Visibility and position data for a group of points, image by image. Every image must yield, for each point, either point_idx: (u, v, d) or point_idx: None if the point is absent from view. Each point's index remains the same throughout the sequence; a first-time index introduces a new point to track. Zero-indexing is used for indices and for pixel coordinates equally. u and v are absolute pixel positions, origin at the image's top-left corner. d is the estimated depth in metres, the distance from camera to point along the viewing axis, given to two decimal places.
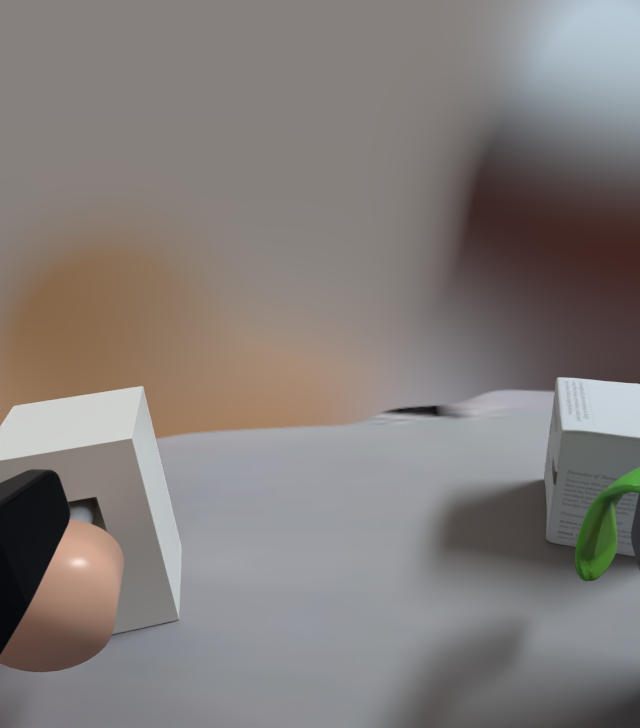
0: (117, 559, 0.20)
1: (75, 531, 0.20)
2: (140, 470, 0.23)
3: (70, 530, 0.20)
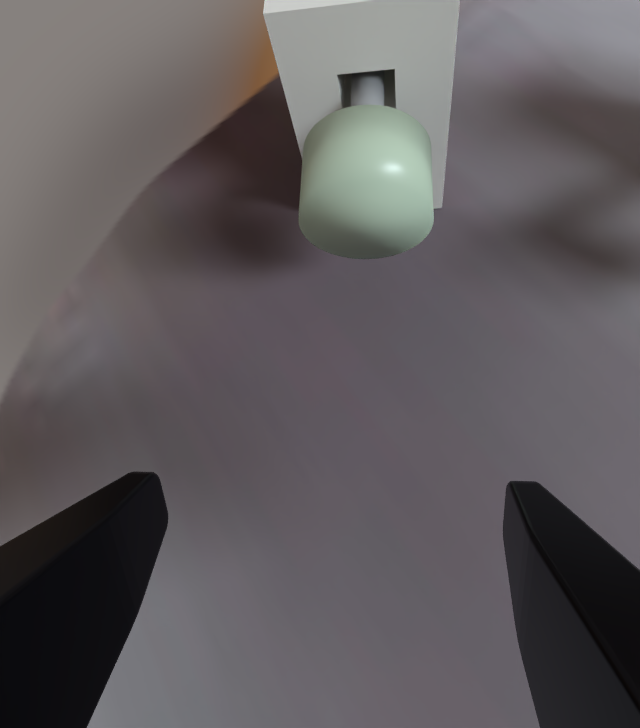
0: None
1: None
2: None
3: None
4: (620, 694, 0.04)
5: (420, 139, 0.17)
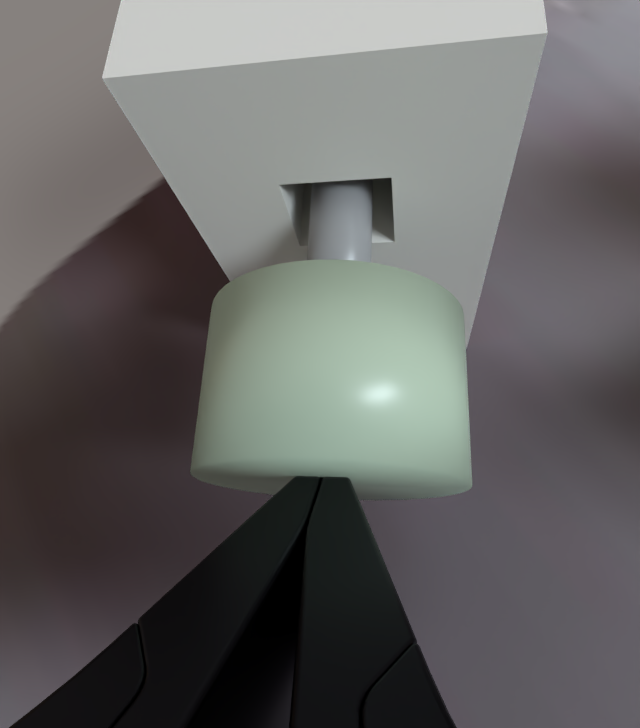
0: None
1: None
2: None
3: None
4: None
5: (445, 325, 0.08)
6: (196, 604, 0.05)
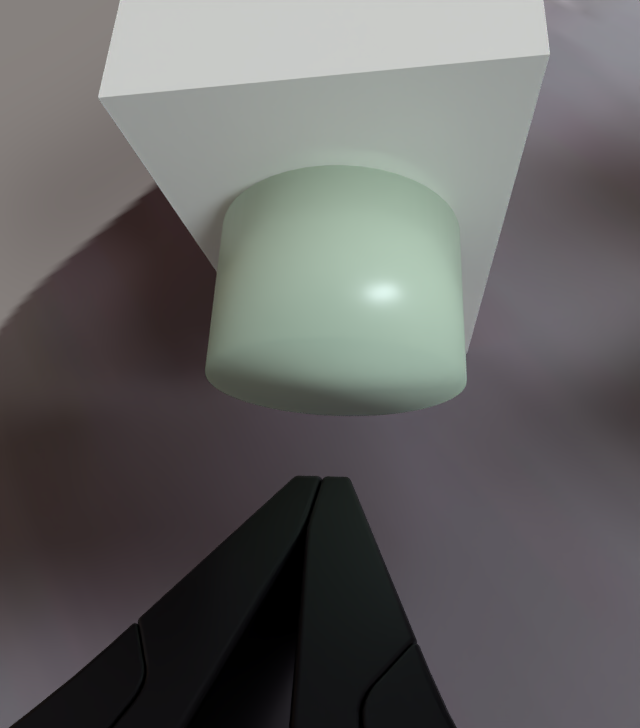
0: None
1: None
2: None
3: None
4: None
5: (442, 230, 0.09)
6: (196, 604, 0.05)
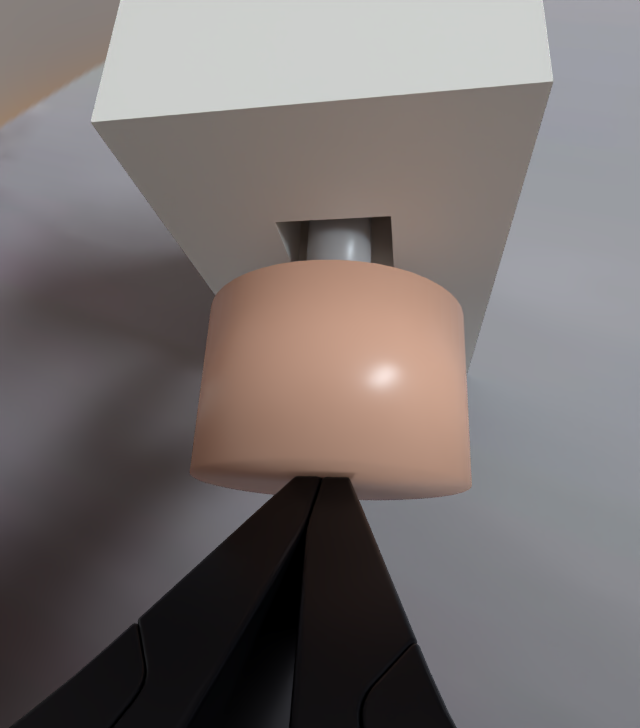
0: (464, 352, 0.09)
1: (390, 305, 0.07)
2: (524, 170, 0.08)
3: (379, 304, 0.07)
4: None
5: None
6: (196, 605, 0.05)
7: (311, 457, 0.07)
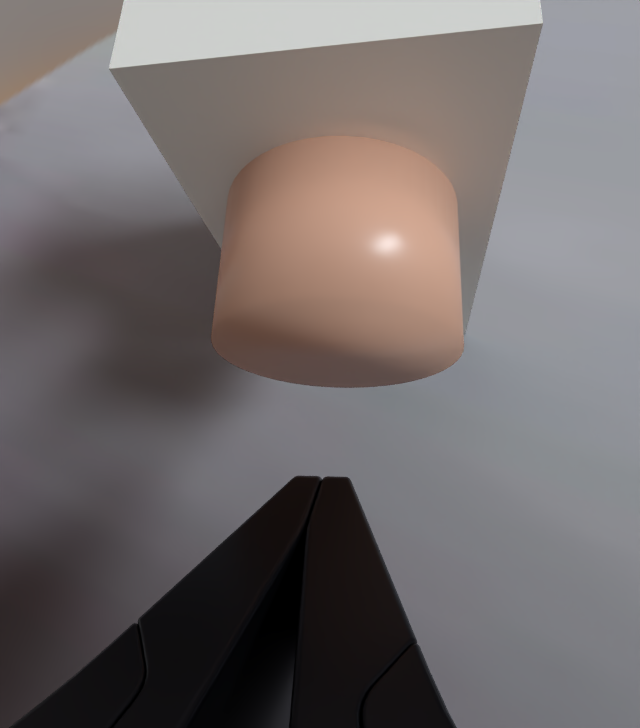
0: (458, 233, 0.10)
1: (391, 175, 0.08)
2: (517, 115, 0.08)
3: (381, 172, 0.08)
4: None
5: None
6: (196, 604, 0.05)
7: (322, 295, 0.08)
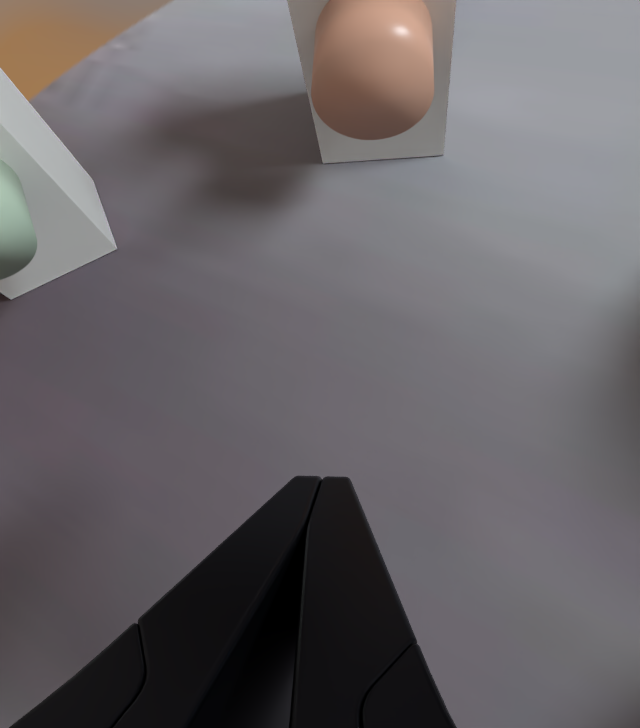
0: (432, 37, 0.20)
1: None
2: None
3: None
4: None
5: None
6: (196, 604, 0.05)
7: (370, 39, 0.17)
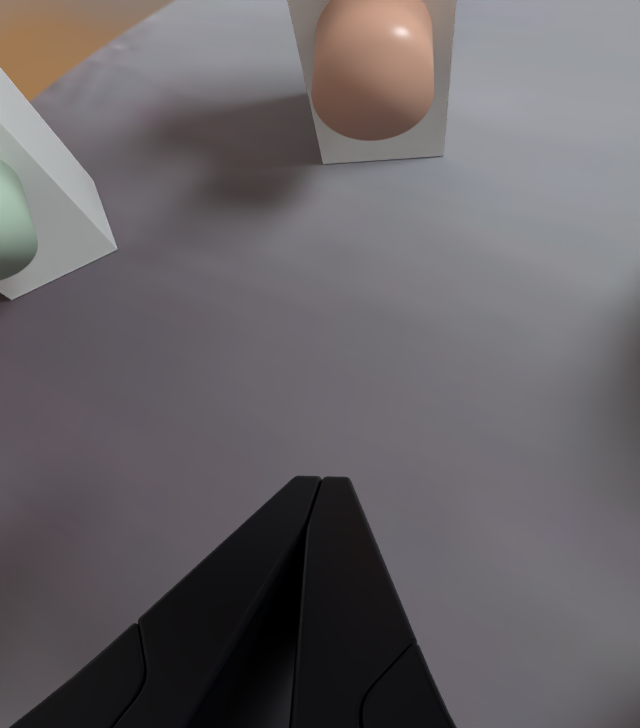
0: (432, 38, 0.20)
1: None
2: None
3: None
4: None
5: None
6: (196, 604, 0.05)
7: (370, 40, 0.17)
